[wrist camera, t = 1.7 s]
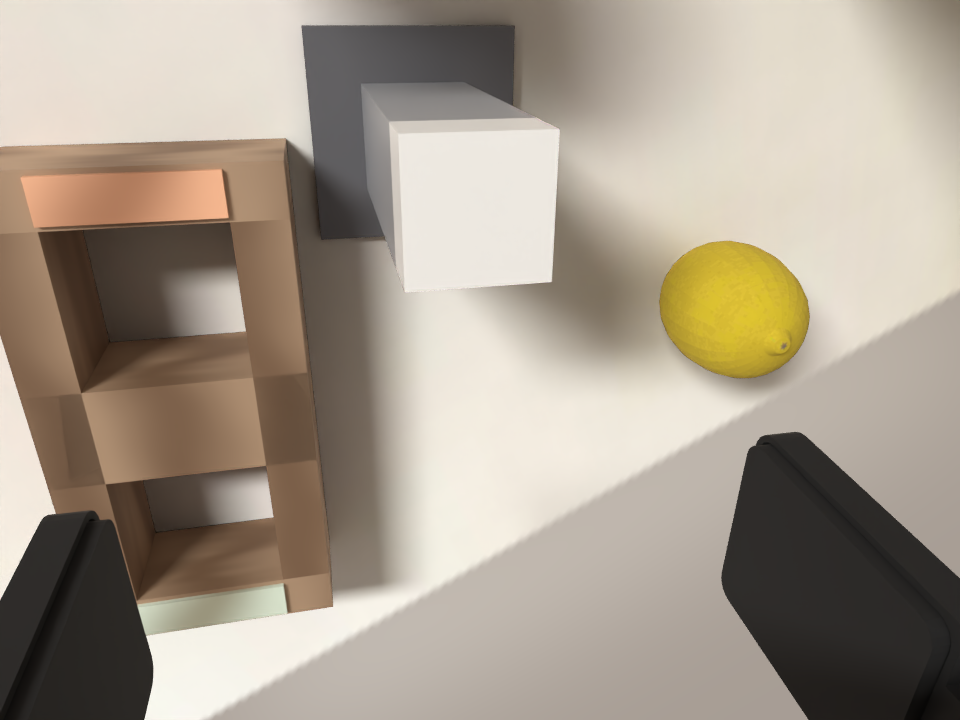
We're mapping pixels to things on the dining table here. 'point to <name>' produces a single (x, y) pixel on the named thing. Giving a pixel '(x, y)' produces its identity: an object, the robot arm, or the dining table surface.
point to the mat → (384, 59)
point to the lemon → (734, 309)
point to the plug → (460, 185)
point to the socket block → (169, 371)
